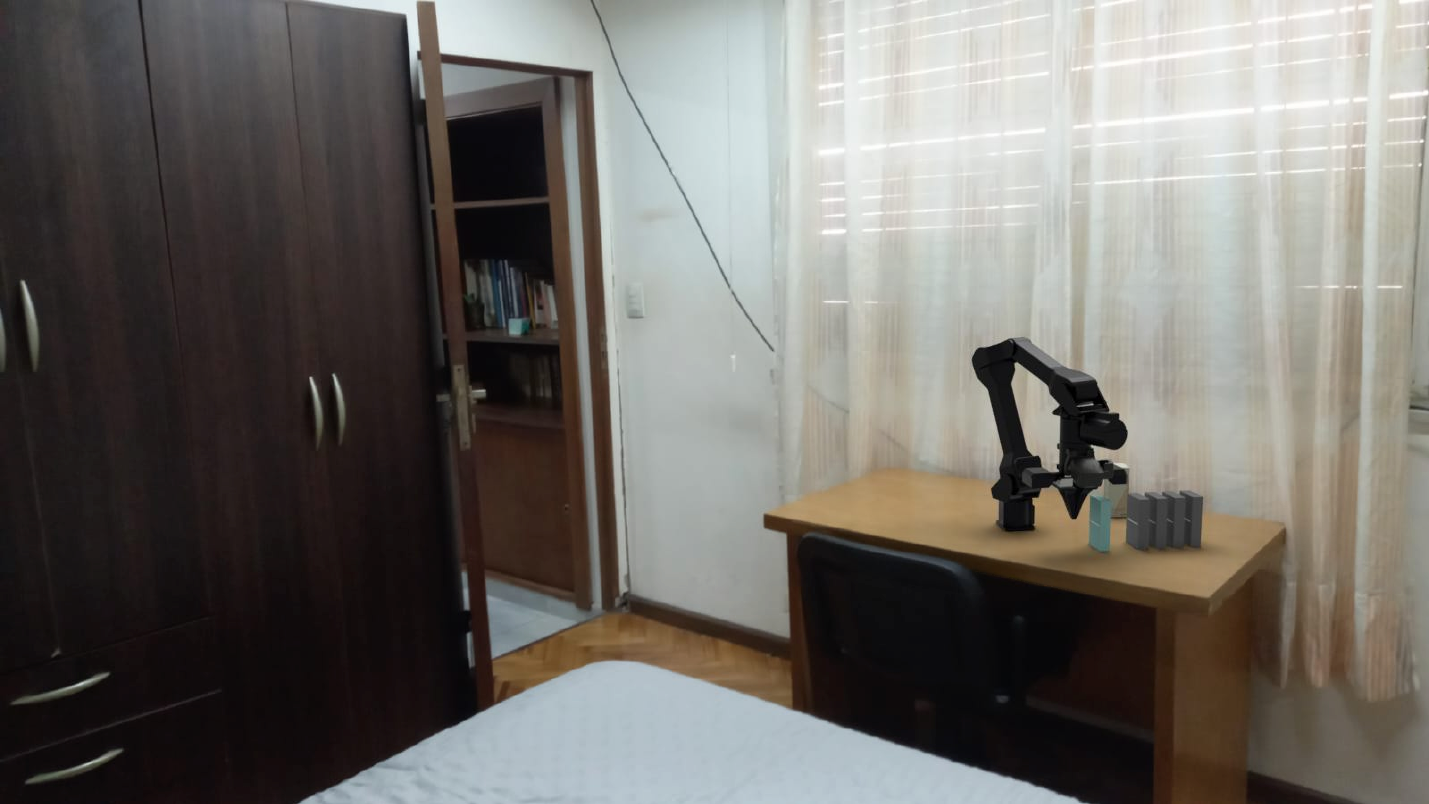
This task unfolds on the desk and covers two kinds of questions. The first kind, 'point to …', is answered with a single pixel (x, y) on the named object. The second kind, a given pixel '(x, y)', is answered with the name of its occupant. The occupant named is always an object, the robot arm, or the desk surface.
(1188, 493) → the tile
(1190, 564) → the desk surface
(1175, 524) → the tile
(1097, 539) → the head tile
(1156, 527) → the tile
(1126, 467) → the box
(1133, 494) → the tile
